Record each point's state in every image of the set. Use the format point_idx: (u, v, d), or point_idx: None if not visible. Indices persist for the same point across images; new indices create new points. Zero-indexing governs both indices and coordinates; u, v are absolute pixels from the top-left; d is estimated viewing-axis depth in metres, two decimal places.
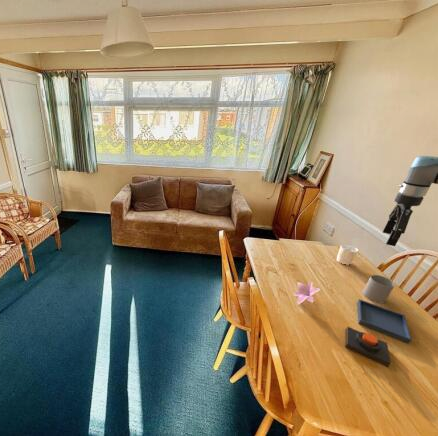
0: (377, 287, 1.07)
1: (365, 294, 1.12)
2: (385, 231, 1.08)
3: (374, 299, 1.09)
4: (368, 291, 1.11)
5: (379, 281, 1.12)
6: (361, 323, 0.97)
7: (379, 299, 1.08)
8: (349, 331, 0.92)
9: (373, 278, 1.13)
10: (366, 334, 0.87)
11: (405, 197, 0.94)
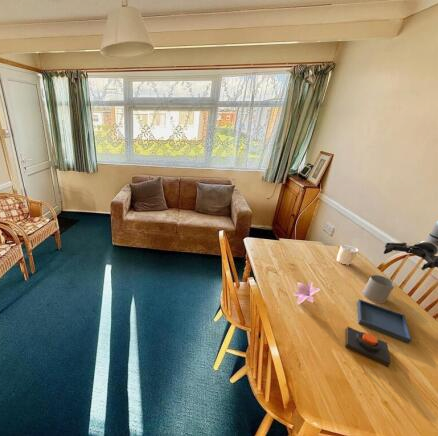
0: (377, 287, 1.07)
1: (365, 294, 1.12)
2: None
3: (374, 299, 1.09)
4: (368, 291, 1.11)
5: (379, 281, 1.12)
6: (361, 323, 0.97)
7: (379, 299, 1.08)
8: (349, 331, 0.92)
9: (373, 278, 1.13)
10: (366, 334, 0.87)
11: None
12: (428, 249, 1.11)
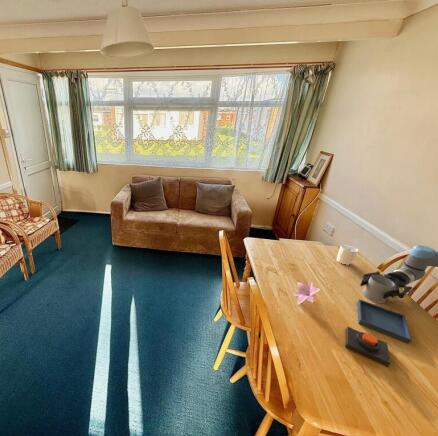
0: (377, 287, 1.07)
1: (365, 294, 1.12)
2: None
3: (374, 299, 1.09)
4: (368, 291, 1.11)
5: (379, 281, 1.12)
6: (361, 323, 0.97)
7: (379, 299, 1.08)
8: (349, 331, 0.92)
9: (373, 278, 1.13)
10: (366, 334, 0.87)
11: None
12: (400, 279, 1.12)
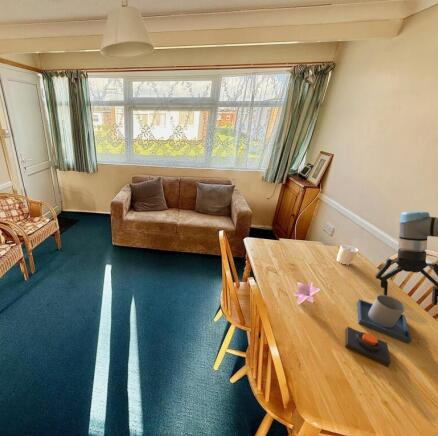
0: (385, 311, 0.93)
1: (371, 317, 0.99)
2: (432, 300, 0.91)
3: (382, 324, 0.95)
4: (374, 314, 0.97)
5: (386, 301, 0.98)
6: (361, 323, 0.97)
7: (388, 323, 0.94)
8: (349, 331, 0.92)
9: (380, 298, 0.99)
10: (366, 334, 0.87)
11: None
12: None
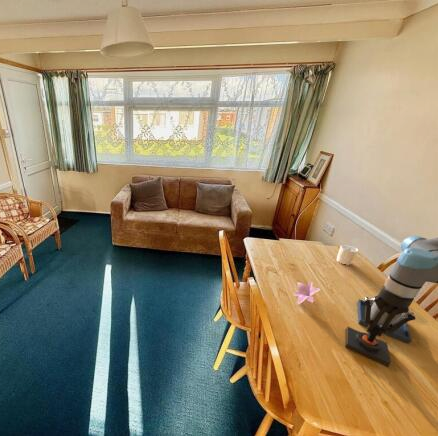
0: None
1: (371, 317, 0.99)
2: None
3: None
4: (374, 313, 0.97)
5: None
6: (361, 323, 0.97)
7: None
8: (349, 331, 0.92)
9: None
10: (365, 336, 0.88)
11: None
12: None
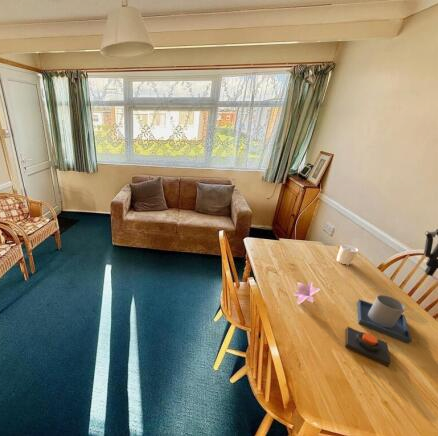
0: (386, 310, 0.93)
1: (371, 317, 0.99)
2: None
3: (382, 323, 0.95)
4: (374, 313, 0.97)
5: (386, 302, 0.99)
6: (361, 323, 0.97)
7: (388, 323, 0.94)
8: (349, 331, 0.92)
9: (380, 299, 0.99)
10: (366, 334, 0.87)
11: None
12: None
